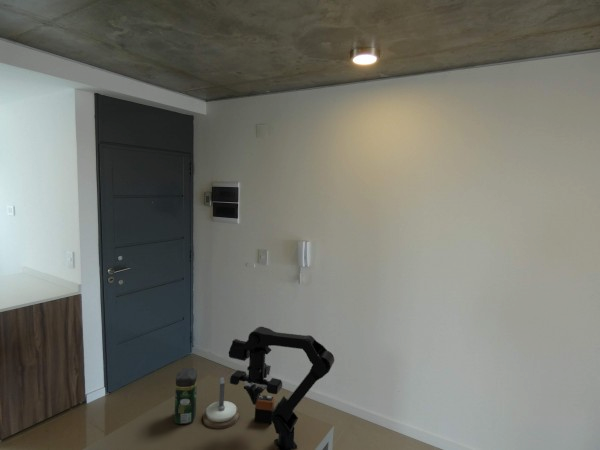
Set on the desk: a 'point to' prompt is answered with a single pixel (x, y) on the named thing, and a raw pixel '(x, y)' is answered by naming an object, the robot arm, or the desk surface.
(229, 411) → the dial
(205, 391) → the desk surface
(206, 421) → the dial base
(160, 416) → the desk surface
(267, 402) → the battery
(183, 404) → the coffee jar
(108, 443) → the desk surface
